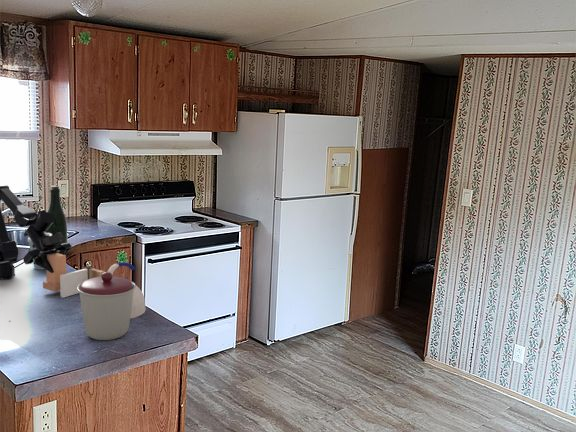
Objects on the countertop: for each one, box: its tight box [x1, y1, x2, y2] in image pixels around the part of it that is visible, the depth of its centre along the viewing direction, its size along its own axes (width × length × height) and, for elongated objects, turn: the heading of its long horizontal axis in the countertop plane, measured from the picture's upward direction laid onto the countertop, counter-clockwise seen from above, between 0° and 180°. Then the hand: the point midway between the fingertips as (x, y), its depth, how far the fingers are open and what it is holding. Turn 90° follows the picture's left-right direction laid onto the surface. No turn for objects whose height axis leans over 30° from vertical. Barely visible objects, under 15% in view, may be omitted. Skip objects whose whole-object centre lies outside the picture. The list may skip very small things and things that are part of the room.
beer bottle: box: [45, 185, 69, 249], centre depth 279 cm, size 10×10×33 cm
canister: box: [77, 271, 137, 341], centre depth 187 cm, size 18×18×21 cm
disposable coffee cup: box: [27, 233, 52, 270], centre depth 256 cm, size 11×11×15 cm
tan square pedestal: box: [42, 253, 67, 292], centre depth 224 cm, size 7×7×13 cm
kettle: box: [107, 261, 147, 320], centre depth 209 cm, size 20×21×18 cm
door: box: [60, 268, 88, 298], centre depth 224 cm, size 12×3×9 cm, turn 151°
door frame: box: [85, 264, 105, 279], centre depth 232 cm, size 22×2×10 cm, turn 61°
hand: (58, 270), depth 223 cm, fingers closed on tan square pedestal, 5 cm apart
